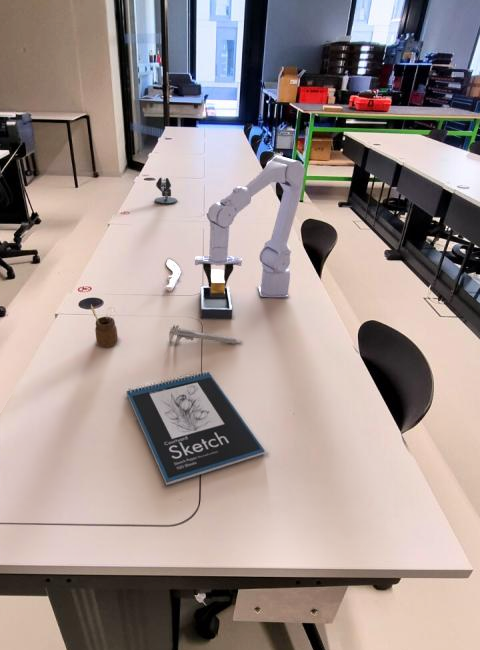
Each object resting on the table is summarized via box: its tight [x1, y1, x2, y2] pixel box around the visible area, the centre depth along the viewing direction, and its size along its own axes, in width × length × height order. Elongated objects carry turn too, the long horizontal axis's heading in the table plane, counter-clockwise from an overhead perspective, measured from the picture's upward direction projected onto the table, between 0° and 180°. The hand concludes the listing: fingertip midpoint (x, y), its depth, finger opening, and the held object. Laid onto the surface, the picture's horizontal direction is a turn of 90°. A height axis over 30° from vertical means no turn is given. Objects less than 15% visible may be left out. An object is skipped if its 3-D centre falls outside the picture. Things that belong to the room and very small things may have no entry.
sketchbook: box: [126, 370, 266, 486], centre depth 98 cm, size 22×30×2 cm
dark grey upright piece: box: [154, 176, 178, 206], centre depth 242 cm, size 13×20×13 cm, turn 1°
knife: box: [163, 258, 182, 292], centre depth 165 cm, size 30×2×8 cm
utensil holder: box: [90, 304, 119, 348], centre depth 122 cm, size 6×6×12 cm
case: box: [200, 285, 233, 320], centre depth 144 cm, size 10×17×3 cm, turn 2°
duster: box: [210, 269, 225, 297], centre depth 141 cm, size 5×11×5 cm, turn 2°
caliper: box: [168, 324, 241, 345], centre depth 125 cm, size 20×1×6 cm, turn 94°
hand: (217, 285), depth 141 cm, fingers closed on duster, 4 cm apart
